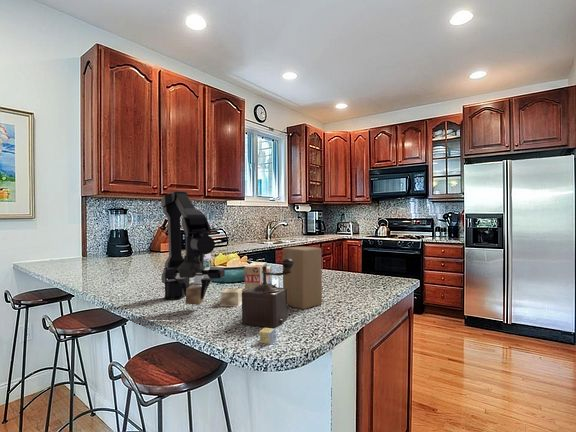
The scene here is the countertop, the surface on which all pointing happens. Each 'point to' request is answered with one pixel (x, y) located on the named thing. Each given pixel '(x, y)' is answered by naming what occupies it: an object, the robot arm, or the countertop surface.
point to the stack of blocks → (256, 275)
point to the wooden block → (303, 277)
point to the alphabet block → (267, 335)
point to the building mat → (231, 305)
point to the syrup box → (207, 266)
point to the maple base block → (231, 297)
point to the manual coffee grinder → (266, 302)
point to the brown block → (193, 295)
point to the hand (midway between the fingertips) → (195, 298)
